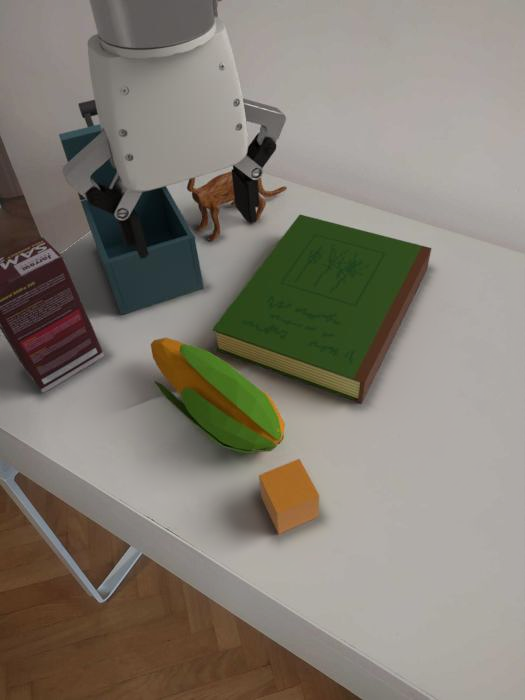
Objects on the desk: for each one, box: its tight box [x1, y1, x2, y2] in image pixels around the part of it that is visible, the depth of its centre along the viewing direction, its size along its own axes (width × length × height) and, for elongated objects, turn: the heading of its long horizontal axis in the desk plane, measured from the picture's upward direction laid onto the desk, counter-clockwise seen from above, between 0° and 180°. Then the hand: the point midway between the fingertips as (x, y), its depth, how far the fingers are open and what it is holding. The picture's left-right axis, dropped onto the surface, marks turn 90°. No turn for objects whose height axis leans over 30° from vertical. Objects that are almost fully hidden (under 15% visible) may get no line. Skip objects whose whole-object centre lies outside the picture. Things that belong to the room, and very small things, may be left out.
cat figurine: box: [186, 170, 288, 242], centre depth 82 cm, size 18×7×14 cm, turn 127°
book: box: [211, 214, 433, 404], centre depth 72 cm, size 25×19×4 cm
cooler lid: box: [58, 99, 117, 201], centre depth 71 cm, size 15×11×5 cm
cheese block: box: [258, 458, 320, 535], centre depth 54 cm, size 4×4×4 cm
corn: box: [150, 337, 286, 454], centre depth 61 cm, size 7×8×20 cm
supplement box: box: [0, 236, 105, 394], centre depth 63 cm, size 9×5×16 cm, turn 130°
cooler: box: [80, 186, 204, 316], centre depth 77 cm, size 14×11×9 cm
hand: (194, 231), depth 49 cm, fingers open, 9 cm apart
